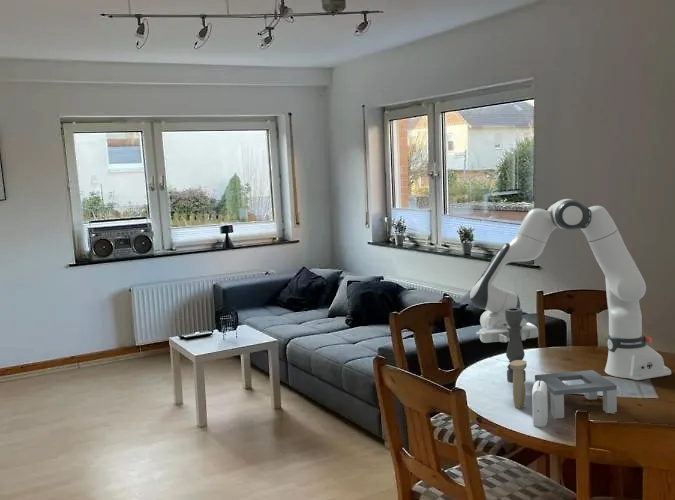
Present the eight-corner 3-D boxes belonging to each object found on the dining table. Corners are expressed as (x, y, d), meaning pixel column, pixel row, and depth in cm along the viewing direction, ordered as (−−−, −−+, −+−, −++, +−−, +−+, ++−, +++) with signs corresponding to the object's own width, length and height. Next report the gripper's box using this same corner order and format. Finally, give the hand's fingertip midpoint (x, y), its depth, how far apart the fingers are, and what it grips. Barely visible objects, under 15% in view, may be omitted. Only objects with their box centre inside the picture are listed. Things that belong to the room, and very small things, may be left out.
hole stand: (593, 395, 225) (592, 370, 224) (616, 413, 209) (616, 385, 208) (535, 401, 224) (534, 375, 223) (554, 418, 208) (554, 390, 207)
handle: (530, 405, 220) (529, 361, 218) (521, 411, 215) (520, 366, 213) (516, 402, 223) (515, 359, 221) (508, 408, 218) (506, 364, 216)
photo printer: (546, 428, 201) (546, 388, 200) (532, 427, 203) (531, 387, 201) (548, 415, 211) (547, 377, 209) (534, 414, 212) (533, 377, 211)
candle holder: (526, 383, 227) (523, 311, 224) (507, 383, 228) (504, 311, 225) (524, 377, 233) (522, 307, 230) (506, 377, 234) (503, 307, 231)
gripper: (473, 323, 240) (485, 333, 227) (528, 318, 242) (543, 327, 228) (474, 340, 241) (486, 351, 227) (529, 335, 243) (544, 344, 229)
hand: (515, 338), depth 228 cm, fingers closed on candle holder, 4 cm apart
